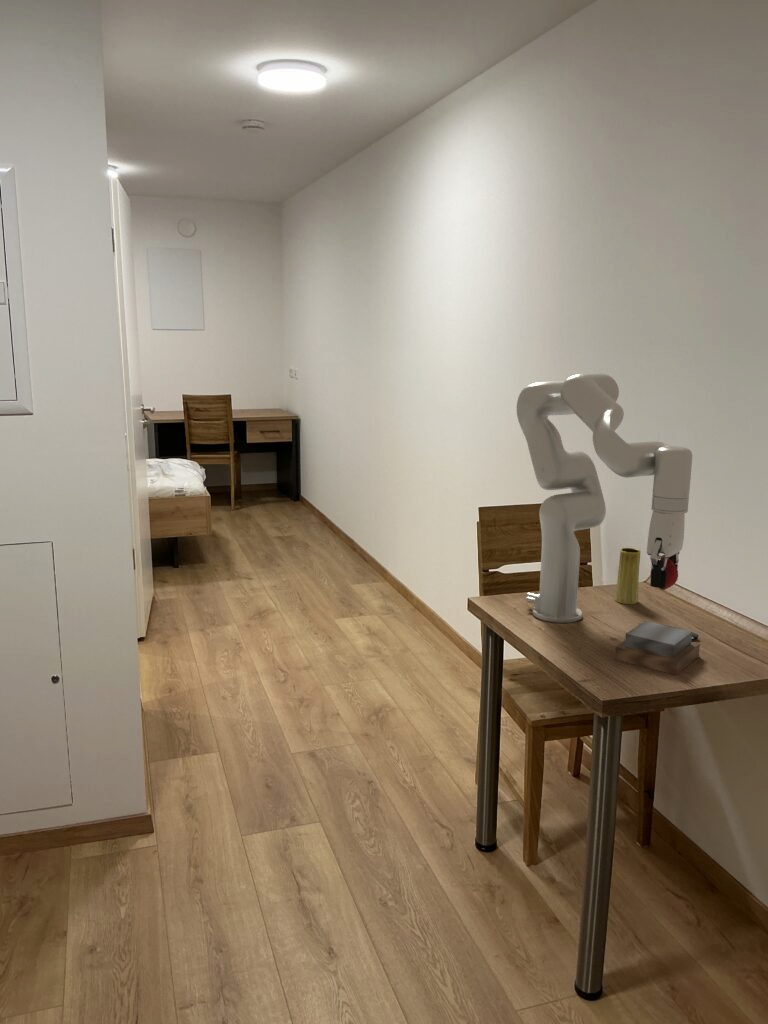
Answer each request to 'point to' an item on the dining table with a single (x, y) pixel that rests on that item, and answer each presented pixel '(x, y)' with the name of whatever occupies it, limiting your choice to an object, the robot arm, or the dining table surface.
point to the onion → (670, 573)
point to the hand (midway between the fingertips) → (663, 583)
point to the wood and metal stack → (658, 648)
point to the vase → (628, 576)
